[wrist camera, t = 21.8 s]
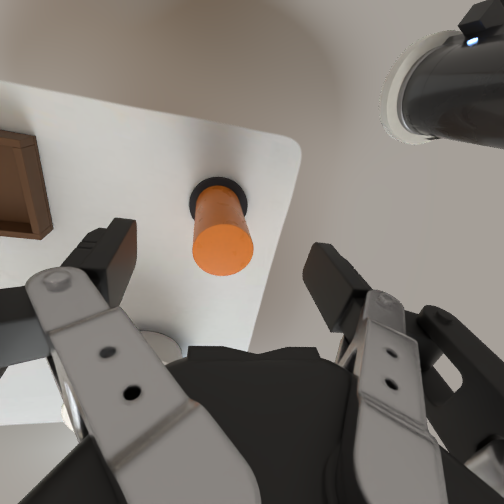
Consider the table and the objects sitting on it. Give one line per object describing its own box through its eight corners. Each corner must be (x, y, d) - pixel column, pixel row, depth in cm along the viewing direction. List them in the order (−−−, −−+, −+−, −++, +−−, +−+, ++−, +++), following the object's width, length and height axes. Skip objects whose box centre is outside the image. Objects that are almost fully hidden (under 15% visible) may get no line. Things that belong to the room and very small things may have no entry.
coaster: (206, 165, 33) (206, 166, 32) (257, 194, 36) (258, 196, 35) (179, 216, 36) (179, 217, 35) (229, 239, 39) (229, 241, 38)
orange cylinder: (208, 176, 33) (210, 213, 23) (247, 198, 35) (265, 240, 25) (188, 214, 35) (182, 263, 25) (226, 232, 37) (234, 283, 27)
